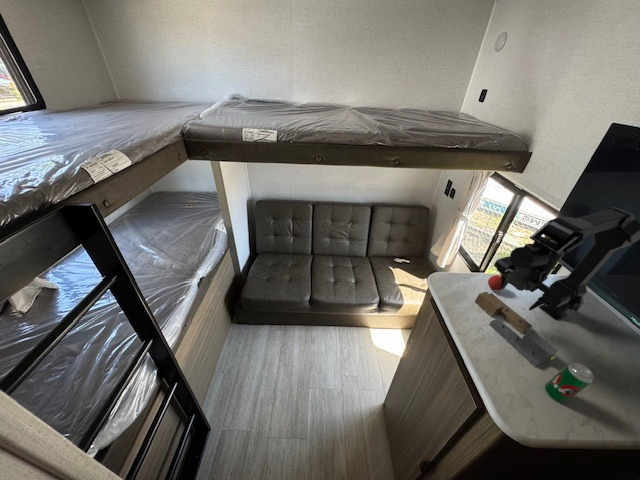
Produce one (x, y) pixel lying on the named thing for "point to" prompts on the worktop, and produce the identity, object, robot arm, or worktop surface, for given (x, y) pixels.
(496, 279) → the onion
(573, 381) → the soda can
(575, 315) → the worktop surface
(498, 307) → the wooden block
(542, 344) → the leaf fixed
